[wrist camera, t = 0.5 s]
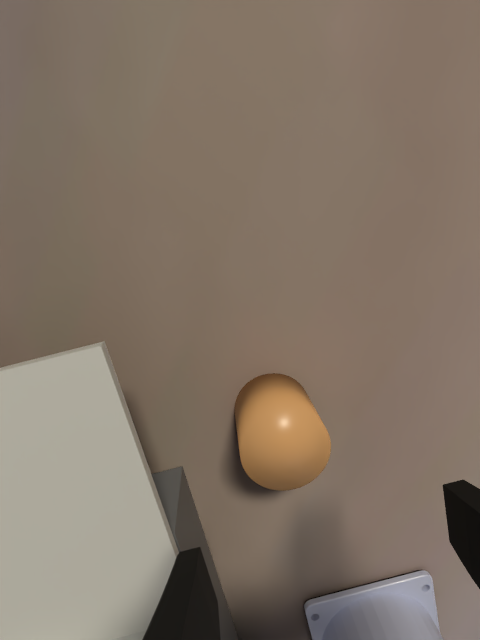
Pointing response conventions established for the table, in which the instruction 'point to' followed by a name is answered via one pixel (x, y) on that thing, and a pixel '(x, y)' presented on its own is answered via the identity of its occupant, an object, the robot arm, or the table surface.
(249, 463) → the tan rounded capsule
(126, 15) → the table surface
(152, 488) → the lid
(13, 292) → the table surface
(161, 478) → the box
